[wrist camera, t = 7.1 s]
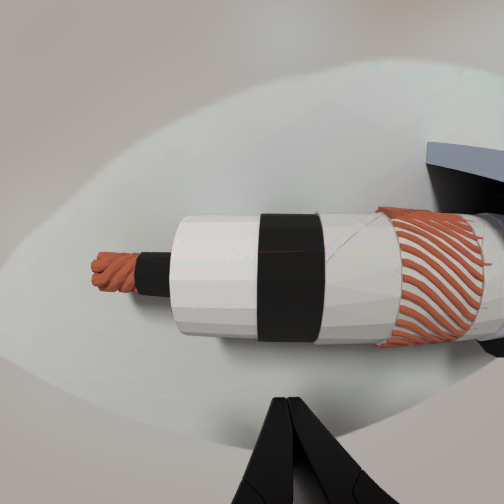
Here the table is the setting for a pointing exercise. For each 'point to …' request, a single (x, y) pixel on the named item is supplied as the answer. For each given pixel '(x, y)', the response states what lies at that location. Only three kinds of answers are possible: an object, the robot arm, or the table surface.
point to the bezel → (467, 159)
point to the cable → (329, 277)
